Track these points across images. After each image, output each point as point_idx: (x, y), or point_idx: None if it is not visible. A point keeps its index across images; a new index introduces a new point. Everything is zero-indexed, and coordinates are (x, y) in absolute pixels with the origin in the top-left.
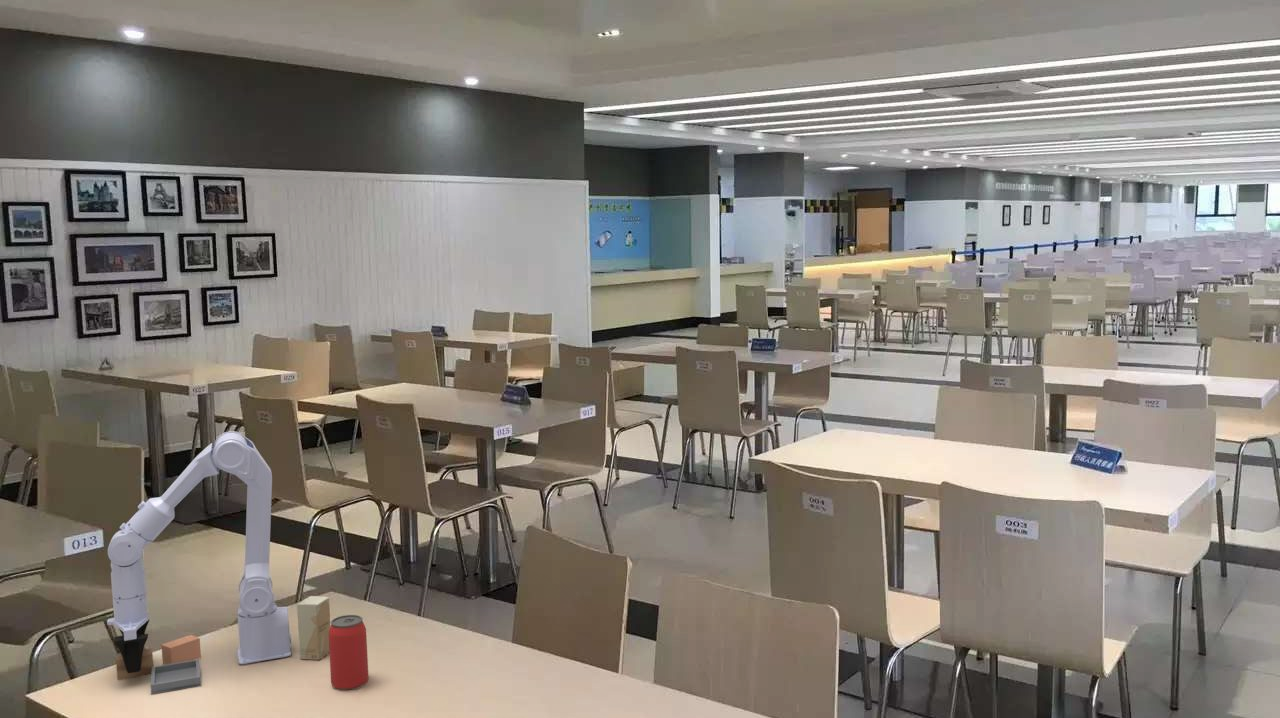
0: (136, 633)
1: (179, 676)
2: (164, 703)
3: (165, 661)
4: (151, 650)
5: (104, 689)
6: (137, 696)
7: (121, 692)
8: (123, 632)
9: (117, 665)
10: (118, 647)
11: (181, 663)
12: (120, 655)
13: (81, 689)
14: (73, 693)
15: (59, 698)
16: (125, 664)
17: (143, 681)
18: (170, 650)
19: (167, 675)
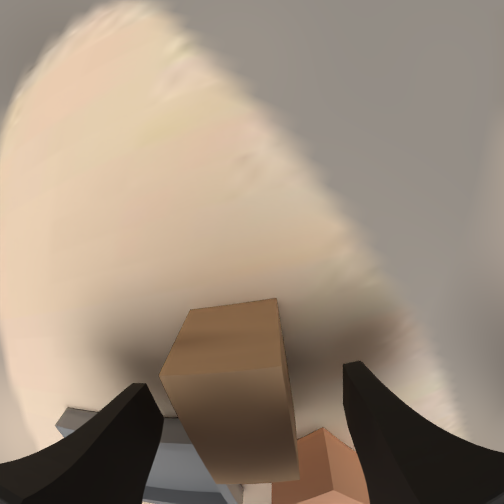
0: (379, 499)
1: (164, 469)
2: (36, 419)
3: (305, 447)
4: (268, 482)
5: (95, 273)
6: (53, 379)
7: (71, 338)
8: (397, 484)
9: (172, 356)
10: (12, 464)
11: (220, 490)
12: (239, 389)
13: (111, 164)
14: (78, 144)
15: (50, 107)
16: (103, 410)
17: (158, 397)
18: (272, 502)
19: (176, 453)
